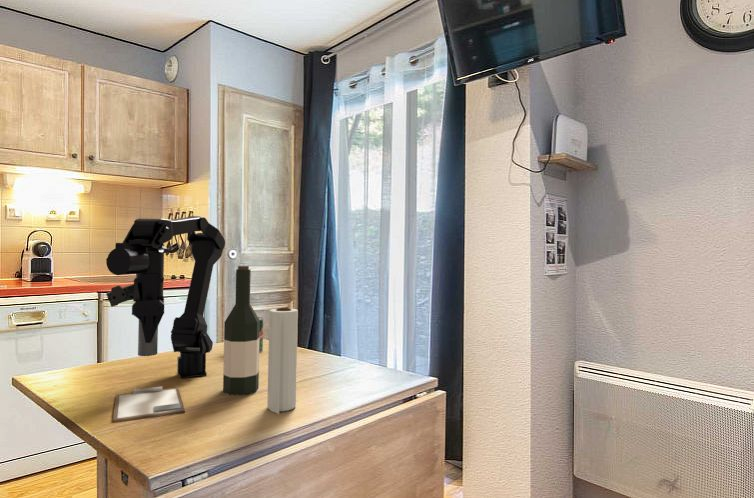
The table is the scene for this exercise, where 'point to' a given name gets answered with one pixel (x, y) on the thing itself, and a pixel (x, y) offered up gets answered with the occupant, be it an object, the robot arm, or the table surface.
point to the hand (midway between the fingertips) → (148, 340)
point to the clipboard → (147, 403)
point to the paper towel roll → (282, 359)
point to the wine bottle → (241, 341)
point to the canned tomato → (261, 335)
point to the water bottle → (144, 347)
